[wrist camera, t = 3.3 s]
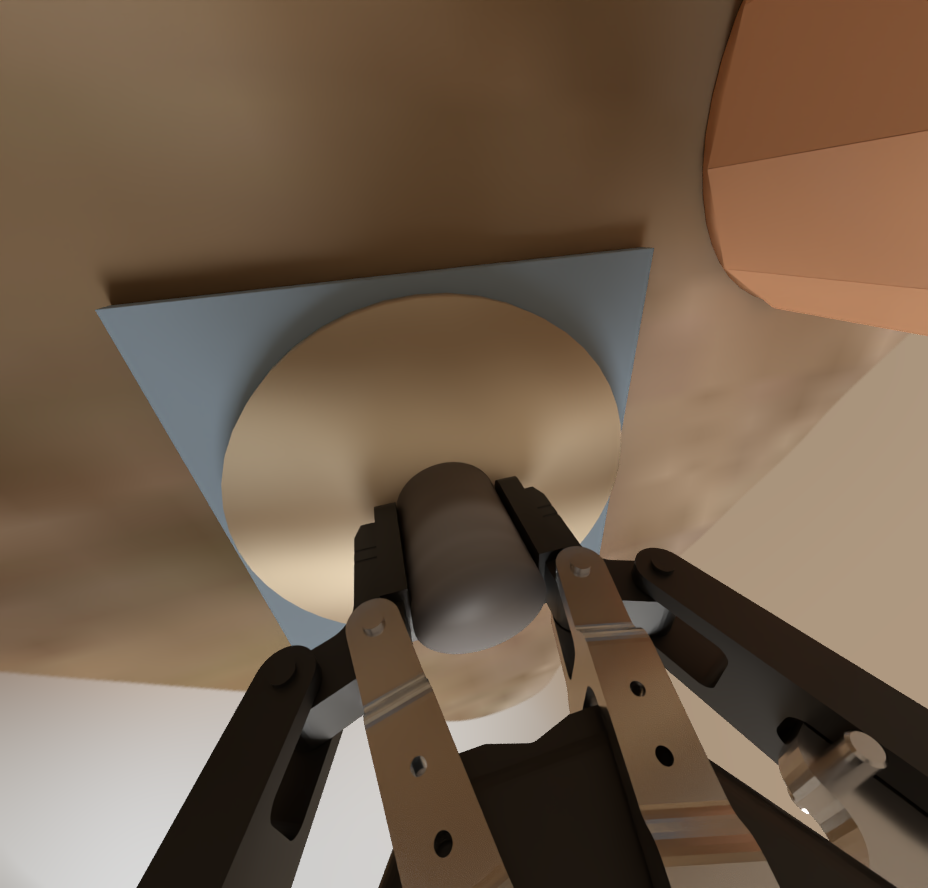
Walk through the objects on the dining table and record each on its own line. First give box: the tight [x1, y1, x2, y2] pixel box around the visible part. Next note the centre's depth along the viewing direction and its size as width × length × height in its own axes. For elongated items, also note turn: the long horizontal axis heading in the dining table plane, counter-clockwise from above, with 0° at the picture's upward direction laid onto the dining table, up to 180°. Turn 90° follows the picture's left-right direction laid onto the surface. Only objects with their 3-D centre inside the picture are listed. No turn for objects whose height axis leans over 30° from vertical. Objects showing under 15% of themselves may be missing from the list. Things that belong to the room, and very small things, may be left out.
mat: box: [95, 247, 654, 650], centre depth 14 cm, size 15×15×1 cm
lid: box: [221, 293, 621, 654], centre depth 12 cm, size 14×14×5 cm
